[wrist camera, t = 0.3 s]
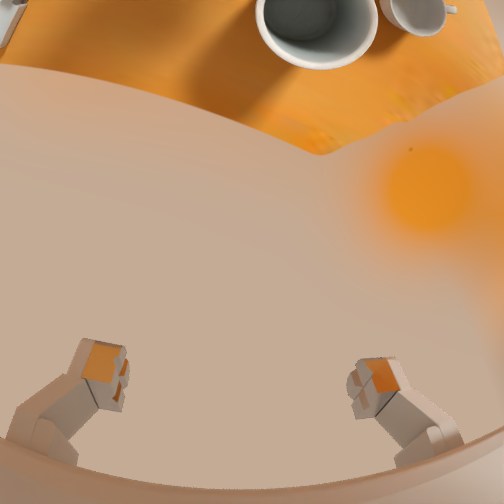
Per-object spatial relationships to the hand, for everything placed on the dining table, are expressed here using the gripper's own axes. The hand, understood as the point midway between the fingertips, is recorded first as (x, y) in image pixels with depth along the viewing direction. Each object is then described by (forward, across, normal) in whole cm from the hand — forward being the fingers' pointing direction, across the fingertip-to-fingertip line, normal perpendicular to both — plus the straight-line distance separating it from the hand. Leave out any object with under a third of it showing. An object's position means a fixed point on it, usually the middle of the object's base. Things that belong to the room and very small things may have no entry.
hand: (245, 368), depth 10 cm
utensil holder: (+46, -7, -25) cm, 53 cm away
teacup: (+44, -26, -33) cm, 60 cm away
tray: (+45, +51, -26) cm, 73 cm away
